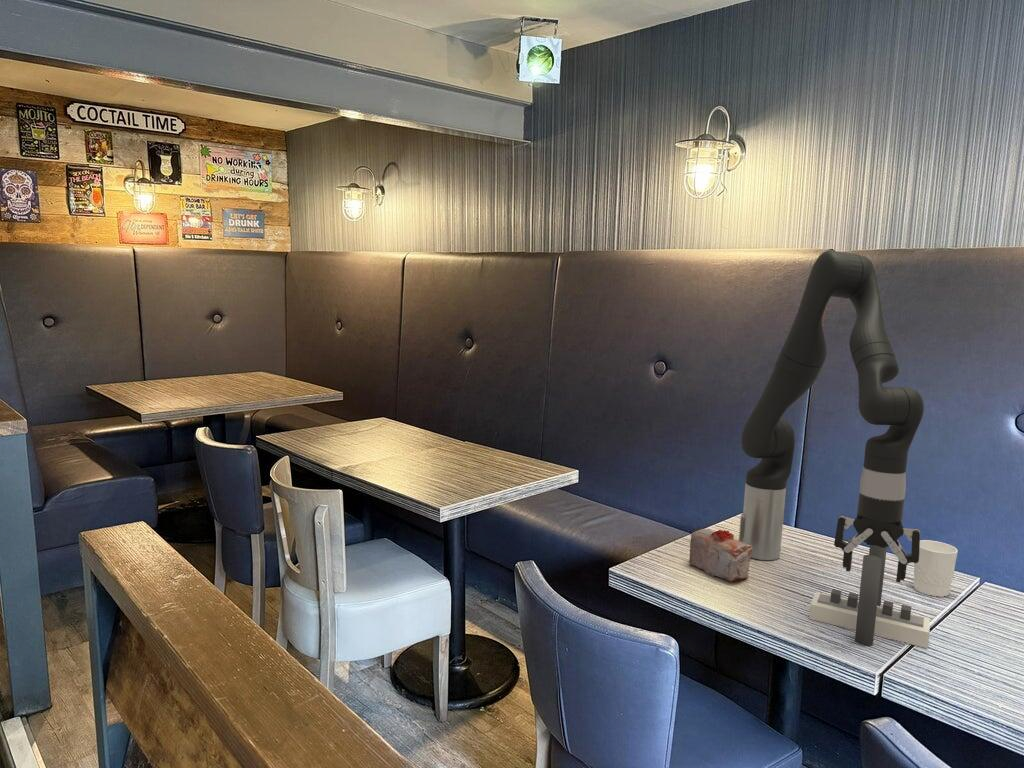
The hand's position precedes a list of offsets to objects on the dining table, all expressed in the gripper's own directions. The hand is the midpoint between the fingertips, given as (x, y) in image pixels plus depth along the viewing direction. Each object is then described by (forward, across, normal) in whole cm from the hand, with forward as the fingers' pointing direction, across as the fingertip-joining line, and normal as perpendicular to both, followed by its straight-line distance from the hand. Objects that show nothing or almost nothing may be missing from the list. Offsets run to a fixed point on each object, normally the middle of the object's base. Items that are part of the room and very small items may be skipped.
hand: (873, 575), depth 135 cm
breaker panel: (+10, 0, 0) cm, 10 cm away
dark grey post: (+10, 0, -8) cm, 13 cm away
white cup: (+10, +10, +27) cm, 31 cm away
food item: (+10, -31, +9) cm, 34 cm away
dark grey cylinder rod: (+10, 0, +8) cm, 13 cm away
